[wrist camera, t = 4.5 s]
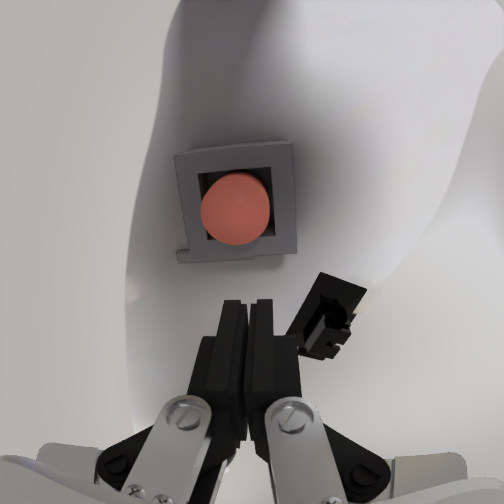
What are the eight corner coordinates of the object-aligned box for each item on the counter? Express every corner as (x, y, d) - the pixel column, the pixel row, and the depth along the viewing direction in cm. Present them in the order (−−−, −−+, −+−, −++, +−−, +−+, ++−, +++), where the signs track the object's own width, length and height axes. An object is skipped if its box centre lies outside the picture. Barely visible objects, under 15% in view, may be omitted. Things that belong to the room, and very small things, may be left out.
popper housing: (188, 149, 22) (173, 155, 18) (287, 140, 21) (292, 143, 18) (201, 239, 25) (191, 259, 22) (292, 233, 25) (297, 253, 21)
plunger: (208, 171, 21) (195, 183, 17) (266, 166, 21) (266, 176, 17) (215, 226, 23) (205, 247, 19) (270, 222, 22) (271, 242, 19)
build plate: (323, 358, 32) (328, 388, 28) (267, 344, 32) (266, 375, 27) (379, 276, 27) (394, 303, 23) (316, 253, 26) (325, 280, 22)
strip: (177, 250, 26) (176, 253, 26) (253, 246, 26) (253, 248, 25) (179, 260, 26) (178, 263, 26) (254, 256, 26) (254, 259, 25)
